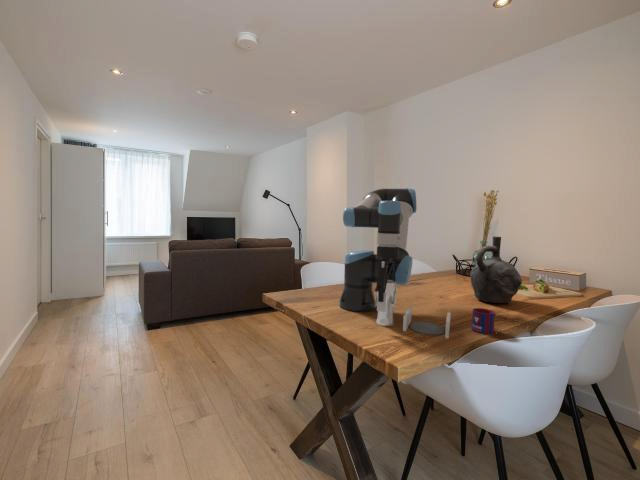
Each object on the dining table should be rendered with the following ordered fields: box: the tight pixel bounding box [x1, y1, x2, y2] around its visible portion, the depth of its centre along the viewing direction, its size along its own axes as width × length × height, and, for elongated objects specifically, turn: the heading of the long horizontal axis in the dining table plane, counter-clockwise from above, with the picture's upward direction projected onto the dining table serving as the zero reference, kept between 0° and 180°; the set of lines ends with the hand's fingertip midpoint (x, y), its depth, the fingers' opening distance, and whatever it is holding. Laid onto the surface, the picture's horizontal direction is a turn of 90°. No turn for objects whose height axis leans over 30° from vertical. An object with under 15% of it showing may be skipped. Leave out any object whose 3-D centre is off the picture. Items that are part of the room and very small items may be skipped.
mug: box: [471, 307, 496, 335], centre depth 108 cm, size 7×10×7 cm
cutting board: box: [514, 278, 583, 300], centre depth 170 cm, size 35×23×8 cm
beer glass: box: [375, 280, 397, 327], centre depth 112 cm, size 7×7×15 cm
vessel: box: [469, 236, 523, 304], centre depth 146 cm, size 24×22×30 cm
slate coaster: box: [409, 321, 445, 336], centre depth 108 cm, size 11×11×1 cm
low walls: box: [402, 306, 452, 339], centre depth 108 cm, size 14×12×5 cm
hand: (385, 306), depth 112 cm, fingers open, 13 cm apart
